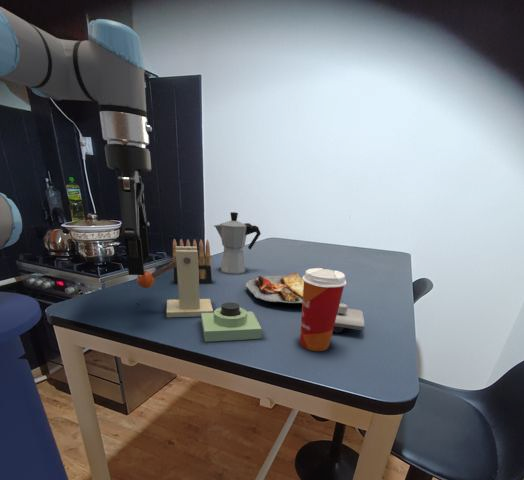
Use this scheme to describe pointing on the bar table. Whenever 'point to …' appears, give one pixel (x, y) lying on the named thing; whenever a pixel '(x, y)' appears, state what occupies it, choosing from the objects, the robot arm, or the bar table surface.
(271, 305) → the bar table surface
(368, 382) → the bar table surface
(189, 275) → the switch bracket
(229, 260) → the coffee maker
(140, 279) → the switch lever
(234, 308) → the button
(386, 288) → the bar table surface
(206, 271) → the ammunition clip
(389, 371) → the bar table surface
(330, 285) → the paper cup
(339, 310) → the light switch
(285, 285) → the food plate
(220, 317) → the button block
